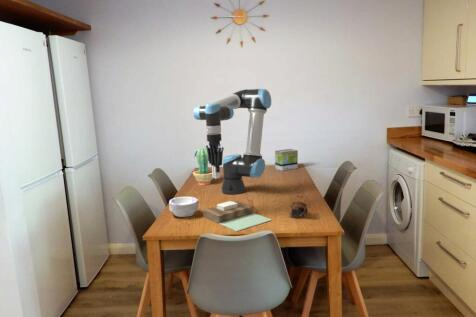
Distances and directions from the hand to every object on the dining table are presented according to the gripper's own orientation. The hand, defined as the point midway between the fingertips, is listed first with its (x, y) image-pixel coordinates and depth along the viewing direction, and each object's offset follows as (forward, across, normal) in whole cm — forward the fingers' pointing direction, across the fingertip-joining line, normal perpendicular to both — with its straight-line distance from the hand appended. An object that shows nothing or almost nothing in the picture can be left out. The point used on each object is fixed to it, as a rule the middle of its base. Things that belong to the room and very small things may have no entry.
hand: (216, 177), depth 210 cm
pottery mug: (+19, +36, +26) cm, 48 cm away
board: (+18, +10, 0) cm, 21 cm away
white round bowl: (+19, -8, -16) cm, 26 cm away
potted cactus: (+19, -57, +28) cm, 66 cm away
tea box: (+19, -49, +99) cm, 112 cm away
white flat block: (+14, +9, 0) cm, 17 cm away
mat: (+18, +24, 0) cm, 30 cm away
